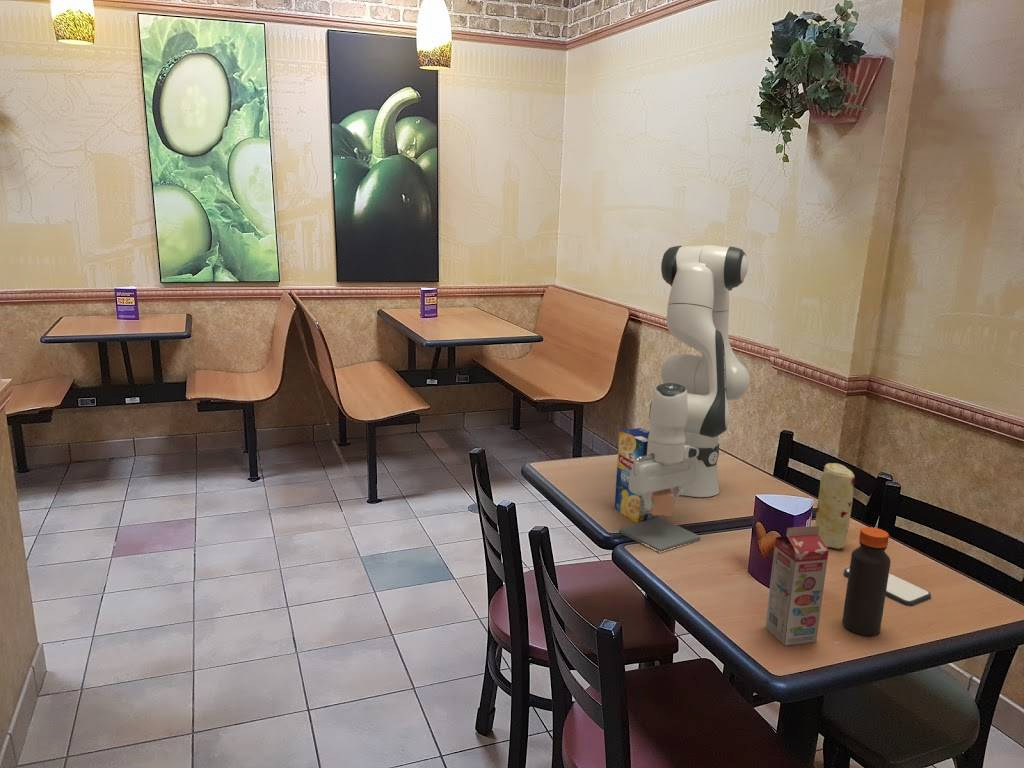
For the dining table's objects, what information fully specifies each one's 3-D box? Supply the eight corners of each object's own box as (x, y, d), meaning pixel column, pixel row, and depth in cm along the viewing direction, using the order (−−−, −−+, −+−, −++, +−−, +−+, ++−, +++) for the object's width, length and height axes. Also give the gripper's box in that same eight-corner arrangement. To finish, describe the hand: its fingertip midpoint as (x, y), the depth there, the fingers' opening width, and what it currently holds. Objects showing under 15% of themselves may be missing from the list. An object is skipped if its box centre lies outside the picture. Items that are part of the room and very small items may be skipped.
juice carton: (765, 626, 145) (777, 521, 140) (795, 623, 147) (808, 518, 142) (784, 645, 139) (798, 535, 134) (816, 641, 140) (830, 533, 135)
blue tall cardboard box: (638, 524, 192) (644, 442, 187) (614, 508, 201) (619, 430, 196) (659, 520, 195) (666, 439, 190) (635, 505, 204) (640, 427, 199)
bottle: (887, 636, 143) (902, 539, 138) (853, 637, 142) (867, 539, 138) (867, 617, 149) (881, 524, 145) (835, 618, 149) (848, 524, 144)
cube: (648, 507, 185) (650, 488, 184) (668, 508, 185) (670, 489, 184) (652, 515, 180) (653, 495, 179) (672, 515, 180) (674, 496, 179)
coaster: (618, 532, 186) (619, 528, 186) (658, 520, 194) (658, 516, 194) (659, 553, 175) (660, 549, 175) (700, 540, 183) (700, 536, 183)
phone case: (932, 600, 159) (864, 567, 172) (934, 593, 158) (866, 561, 171) (908, 610, 154) (840, 576, 167) (909, 603, 154) (841, 569, 167)
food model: (853, 550, 180) (864, 472, 175) (829, 553, 178) (840, 473, 174) (827, 534, 189) (837, 458, 184) (804, 536, 187) (813, 460, 183)
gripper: (643, 461, 171) (639, 517, 174) (704, 448, 183) (698, 501, 186) (624, 453, 176) (620, 508, 179) (684, 442, 188) (679, 493, 191)
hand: (661, 505), depth 183 cm, fingers closed on cube, 7 cm apart
